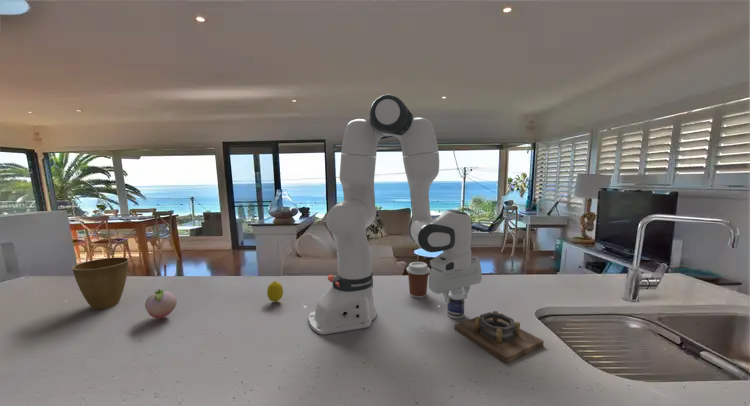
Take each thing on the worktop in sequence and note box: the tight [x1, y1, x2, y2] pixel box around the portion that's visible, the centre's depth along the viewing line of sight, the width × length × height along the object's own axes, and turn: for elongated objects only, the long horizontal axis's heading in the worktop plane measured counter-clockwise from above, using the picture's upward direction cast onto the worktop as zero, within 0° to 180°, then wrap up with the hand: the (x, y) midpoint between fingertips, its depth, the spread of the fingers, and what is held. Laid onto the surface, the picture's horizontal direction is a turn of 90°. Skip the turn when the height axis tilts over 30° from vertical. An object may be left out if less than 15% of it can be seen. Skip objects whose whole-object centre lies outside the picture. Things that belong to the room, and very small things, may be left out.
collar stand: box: [454, 310, 544, 364], centre depth 83 cm, size 15×18×5 cm
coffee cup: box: [405, 261, 431, 299], centre depth 113 cm, size 9×9×12 cm
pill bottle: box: [446, 287, 465, 319], centre depth 96 cm, size 5×5×10 cm
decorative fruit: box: [144, 289, 178, 320], centre depth 96 cm, size 9×8×10 cm
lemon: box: [266, 281, 284, 303], centre depth 107 cm, size 6×6×8 cm
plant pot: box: [71, 256, 130, 311], centre depth 106 cm, size 15×15×16 cm
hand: (455, 300), depth 96 cm, fingers closed on pill bottle, 5 cm apart
